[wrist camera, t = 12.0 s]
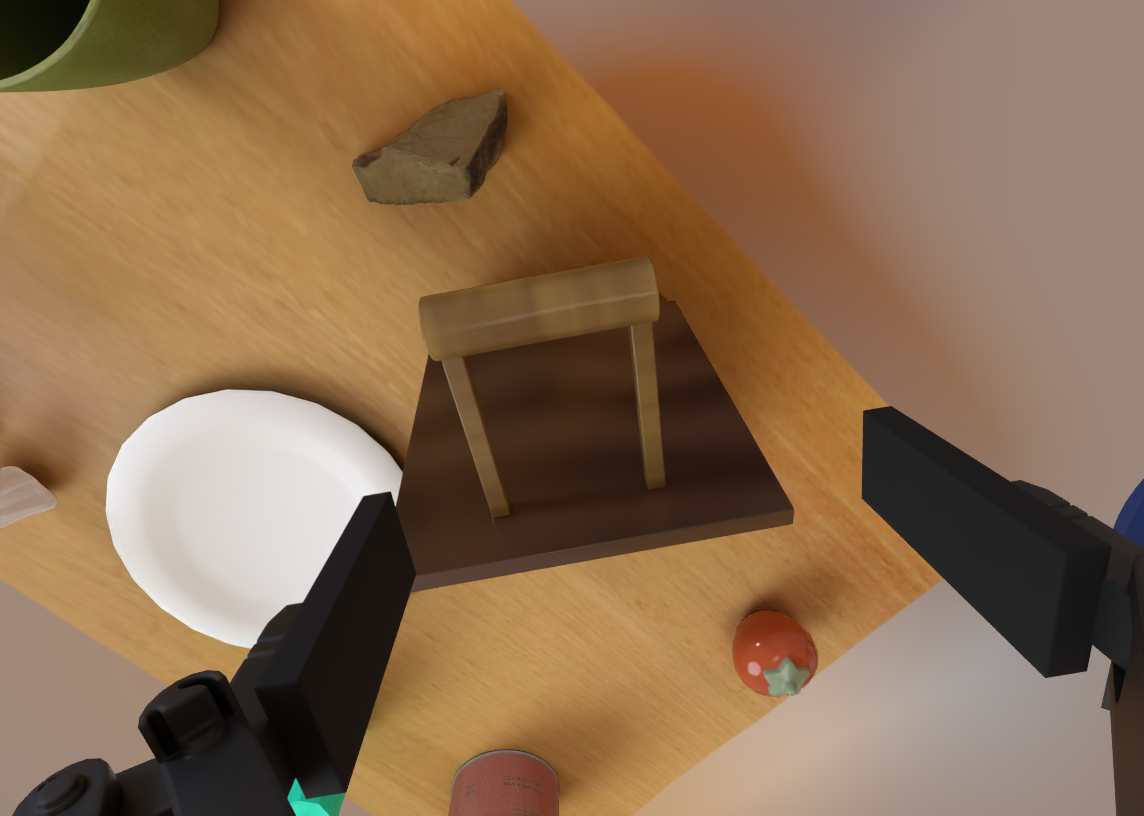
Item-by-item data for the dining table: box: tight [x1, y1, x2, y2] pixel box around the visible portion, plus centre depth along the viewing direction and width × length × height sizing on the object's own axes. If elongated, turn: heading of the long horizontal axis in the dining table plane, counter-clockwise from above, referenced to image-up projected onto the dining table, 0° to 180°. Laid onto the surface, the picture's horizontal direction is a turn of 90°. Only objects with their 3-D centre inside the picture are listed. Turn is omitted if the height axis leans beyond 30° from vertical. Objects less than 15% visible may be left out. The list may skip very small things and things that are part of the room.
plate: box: [106, 389, 403, 649], centre depth 49 cm, size 25×25×2 cm
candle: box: [287, 778, 345, 816], centre depth 52 cm, size 6×6×12 cm
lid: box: [396, 256, 794, 592], centre depth 25 cm, size 18×15×10 cm
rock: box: [352, 88, 507, 205], centre depth 37 cm, size 11×9×10 cm
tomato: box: [732, 610, 818, 697], centre depth 53 cm, size 7×7×8 cm
